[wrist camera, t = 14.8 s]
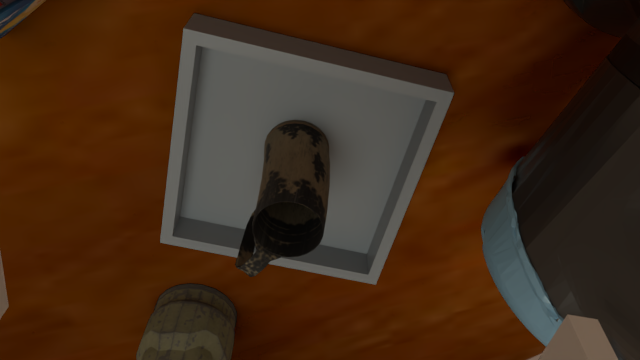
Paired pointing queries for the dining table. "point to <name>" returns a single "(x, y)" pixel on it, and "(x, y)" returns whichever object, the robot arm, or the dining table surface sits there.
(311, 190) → the mug
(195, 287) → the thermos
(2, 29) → the beverage box
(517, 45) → the dining table surface
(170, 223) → the box
